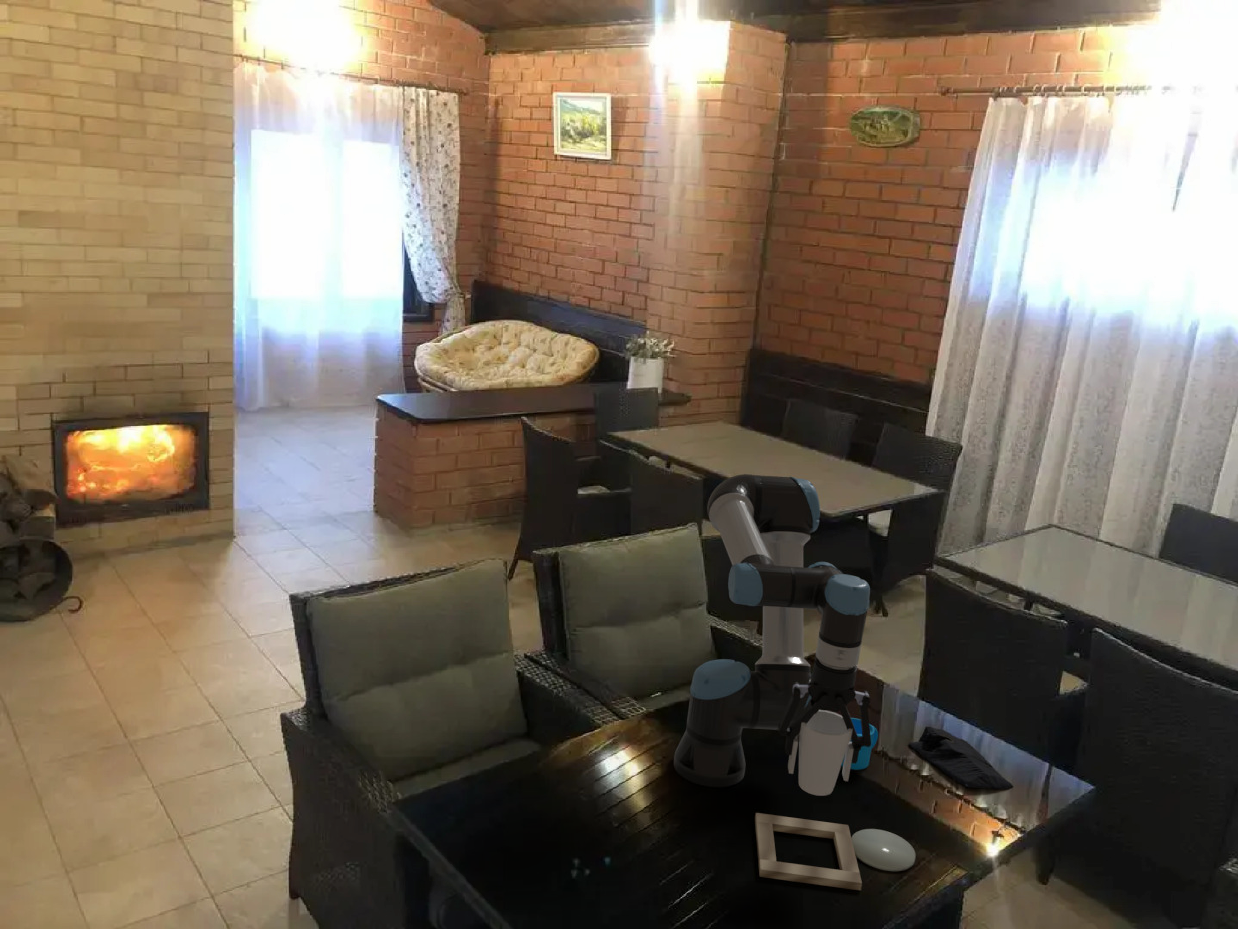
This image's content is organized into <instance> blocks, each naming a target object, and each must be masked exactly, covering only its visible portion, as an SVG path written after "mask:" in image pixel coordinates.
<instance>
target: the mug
mask: <svg viewBox="0 0 1238 929" xmlns="http://www.w3.org/2000/svg"><path fill="white" fill-rule="evenodd" d="M851 720H852V723H853V725H854V728H855V730H856V733H857V736H858V737H861V736H862V728H861V718H856V717H855V718H854V717H851ZM869 726H870V737H871V746H870V747H866V746H863V747H861V750H860V751H859V754H858V760H857V762H856V763H851V767H850V770H857V771H858V770H864V769H866V768H868V766H869V765H870V759H871V754H872V749H873V748H874V747H875V745H876V744H877V741H878V739H879V731H878V730H877V728H876V727H875V726H874V725H872V724H870V723H869ZM850 742H852V740H851V741H850ZM844 759H845V756H844ZM844 759H843V762H842V765H841V768H843V764H844Z"/></svg>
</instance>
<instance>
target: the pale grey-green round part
mask: <svg viewBox="0 0 1238 929" xmlns="http://www.w3.org/2000/svg"><path fill="white" fill-rule="evenodd" d="M851 839H852V843H853V847H854V851H855V856H856V859H859V861H861V862H863V863H864V864H866V865H868V866H870V867H873V868H874V869H878V870H882V871H886V872H887V871H888V872H901V871H907V870H908V869H910V868H911V867H913V866H914V864H915V862H916V851H915V849H914V848H913V845H911V844H910V843H909V841H907V840H906V839H904V838H903V837H901V836H899V835H897V834H895V833H894V832H893V833H892V832H889V831H886V830H883V829H879V828H878V829H876V828H865V829H861V830H859V831H856V832H855V833H853V834H852V836H851Z"/></svg>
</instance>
